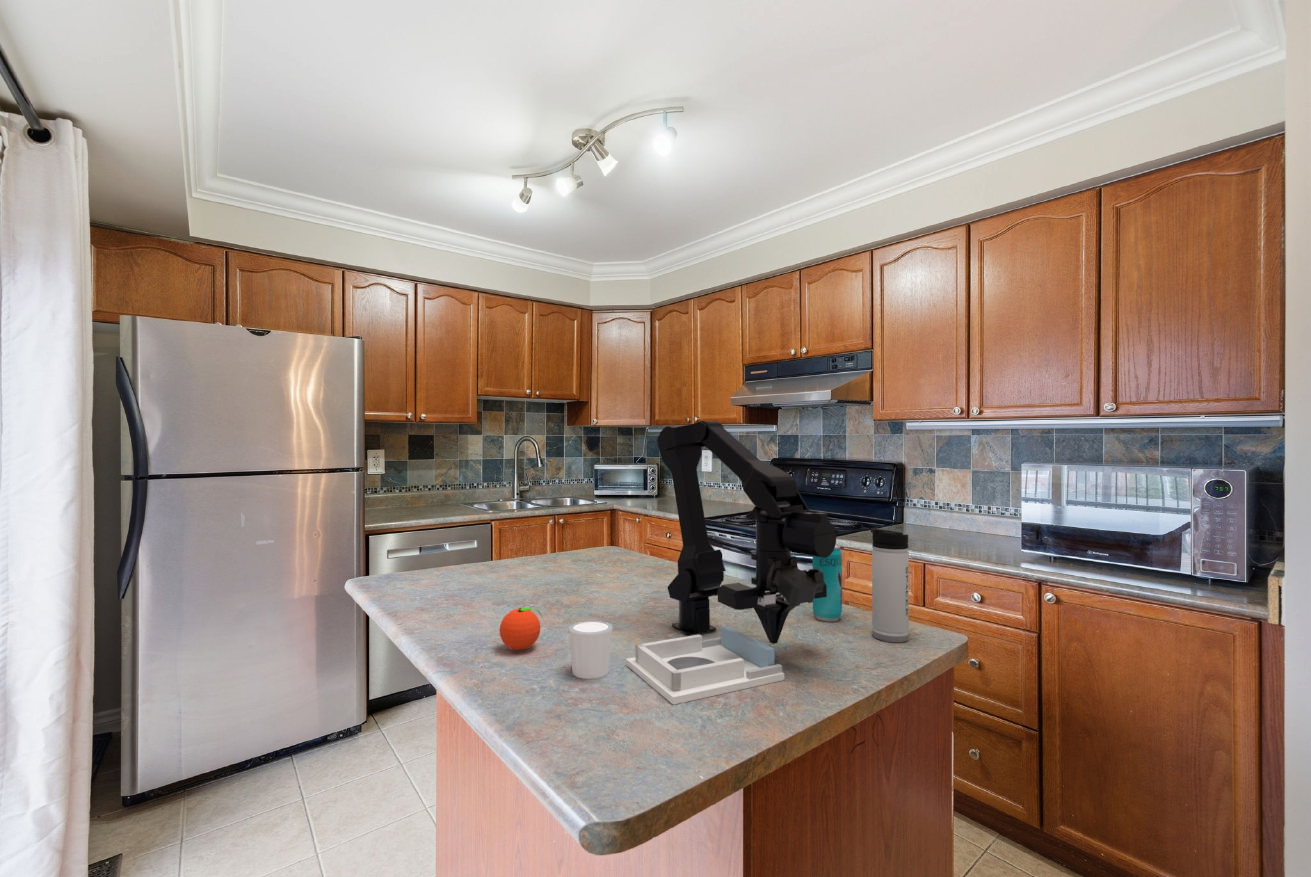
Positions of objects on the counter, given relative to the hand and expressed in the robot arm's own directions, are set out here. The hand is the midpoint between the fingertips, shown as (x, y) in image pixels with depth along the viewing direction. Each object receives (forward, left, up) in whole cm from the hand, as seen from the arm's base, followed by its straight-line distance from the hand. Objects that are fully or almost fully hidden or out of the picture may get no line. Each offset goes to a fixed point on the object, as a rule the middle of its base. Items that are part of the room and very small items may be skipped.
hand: (773, 643), depth 97 cm
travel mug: (+1, +26, -3) cm, 26 cm away
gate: (0, -5, -1) cm, 6 cm away
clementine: (-23, -36, -3) cm, 43 cm away
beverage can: (-13, +24, -3) cm, 27 cm away
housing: (0, -14, -2) cm, 14 cm away
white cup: (-8, -29, -3) cm, 30 cm away
